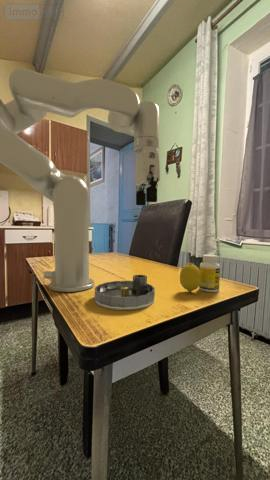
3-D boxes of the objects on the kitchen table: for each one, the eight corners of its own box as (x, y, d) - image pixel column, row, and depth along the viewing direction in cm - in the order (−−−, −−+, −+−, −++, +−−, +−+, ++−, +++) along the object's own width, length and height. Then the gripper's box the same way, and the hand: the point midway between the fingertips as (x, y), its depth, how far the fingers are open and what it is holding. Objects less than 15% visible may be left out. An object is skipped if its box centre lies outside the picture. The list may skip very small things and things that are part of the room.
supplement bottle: (217, 293, 57) (219, 257, 57) (197, 290, 60) (198, 255, 59) (220, 288, 62) (221, 254, 61) (201, 286, 65) (202, 253, 64)
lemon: (203, 295, 56) (204, 264, 55) (181, 295, 56) (182, 264, 55) (197, 289, 61) (198, 261, 61) (177, 289, 61) (178, 261, 61)
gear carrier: (85, 308, 46) (85, 285, 46) (105, 289, 60) (105, 271, 60) (151, 313, 44) (151, 288, 44) (156, 292, 58) (156, 274, 58)
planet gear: (134, 296, 51) (134, 278, 51) (129, 291, 55) (129, 275, 54) (150, 294, 52) (150, 277, 52) (144, 289, 56) (144, 273, 56)
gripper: (170, 137, 59) (169, 201, 60) (147, 157, 76) (147, 206, 77) (144, 134, 57) (143, 199, 58) (127, 155, 73) (127, 205, 74)
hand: (145, 203), depth 67 cm, fingers open, 9 cm apart
